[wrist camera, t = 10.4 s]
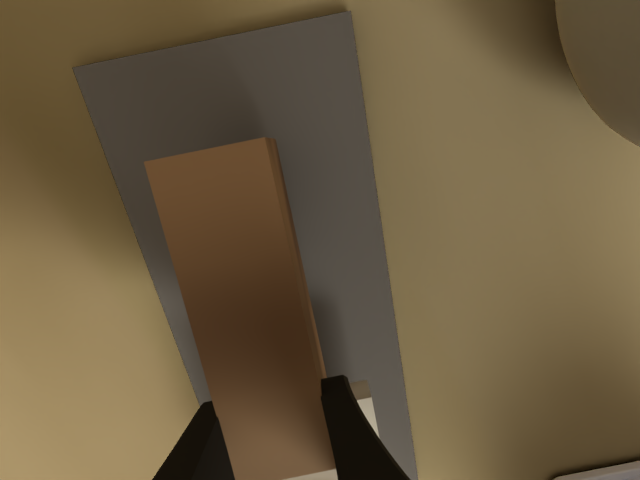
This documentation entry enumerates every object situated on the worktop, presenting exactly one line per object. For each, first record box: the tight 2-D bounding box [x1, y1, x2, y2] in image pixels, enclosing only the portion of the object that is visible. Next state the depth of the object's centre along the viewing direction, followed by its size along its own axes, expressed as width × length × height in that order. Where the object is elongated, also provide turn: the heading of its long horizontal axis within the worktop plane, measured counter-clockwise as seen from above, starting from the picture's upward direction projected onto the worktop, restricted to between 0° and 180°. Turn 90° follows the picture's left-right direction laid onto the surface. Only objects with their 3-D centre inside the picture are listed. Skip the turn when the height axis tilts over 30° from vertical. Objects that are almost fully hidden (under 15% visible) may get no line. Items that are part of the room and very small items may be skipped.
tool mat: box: [72, 11, 418, 480], centre depth 16 cm, size 8×19×1 cm, turn 10°
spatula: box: [144, 137, 380, 480], centre depth 12 cm, size 14×5×4 cm, turn 10°
